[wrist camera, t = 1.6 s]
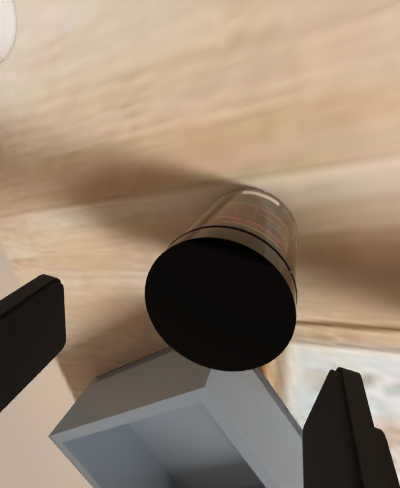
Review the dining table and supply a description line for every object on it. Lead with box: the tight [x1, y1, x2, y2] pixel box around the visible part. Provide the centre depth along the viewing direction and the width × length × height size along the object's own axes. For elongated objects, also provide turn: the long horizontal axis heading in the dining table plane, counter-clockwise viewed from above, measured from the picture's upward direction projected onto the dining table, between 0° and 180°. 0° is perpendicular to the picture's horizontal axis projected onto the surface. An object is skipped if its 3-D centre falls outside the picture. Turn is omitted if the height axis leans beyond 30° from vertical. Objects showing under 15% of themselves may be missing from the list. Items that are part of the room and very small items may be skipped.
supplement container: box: [145, 189, 297, 372], centre depth 18 cm, size 7×7×10 cm
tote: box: [49, 347, 304, 488], centre depth 28 cm, size 18×18×7 cm
